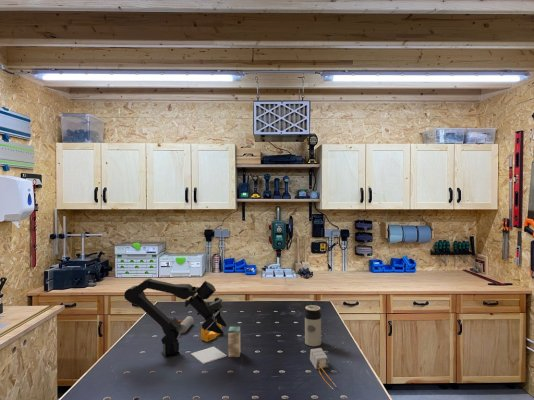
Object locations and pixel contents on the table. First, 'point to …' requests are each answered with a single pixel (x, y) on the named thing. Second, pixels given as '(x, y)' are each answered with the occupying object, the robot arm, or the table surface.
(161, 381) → the table surface
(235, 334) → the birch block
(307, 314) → the travel mug
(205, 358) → the grey pad
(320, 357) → the electrical component
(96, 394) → the table surface
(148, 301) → the robot arm
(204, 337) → the pipe clamp
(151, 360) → the table surface
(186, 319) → the motor
